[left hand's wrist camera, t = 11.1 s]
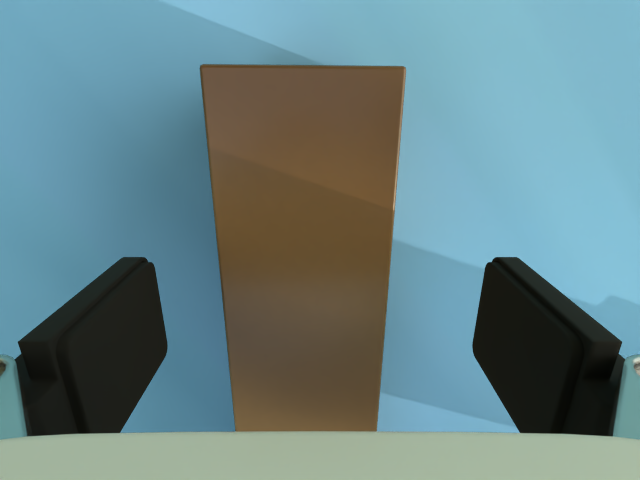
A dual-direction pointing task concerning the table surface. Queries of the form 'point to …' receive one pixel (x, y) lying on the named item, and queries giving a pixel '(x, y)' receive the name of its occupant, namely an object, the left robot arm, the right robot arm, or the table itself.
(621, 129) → the table surface
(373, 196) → the bar
